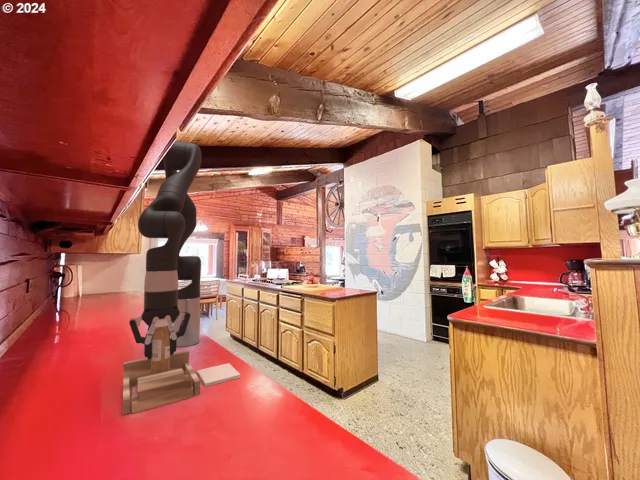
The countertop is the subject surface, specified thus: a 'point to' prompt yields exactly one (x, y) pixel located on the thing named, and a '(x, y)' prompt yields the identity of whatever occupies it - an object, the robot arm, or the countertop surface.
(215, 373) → the cream mat
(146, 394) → the frame
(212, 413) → the countertop surface
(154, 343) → the sprinkles bottle
